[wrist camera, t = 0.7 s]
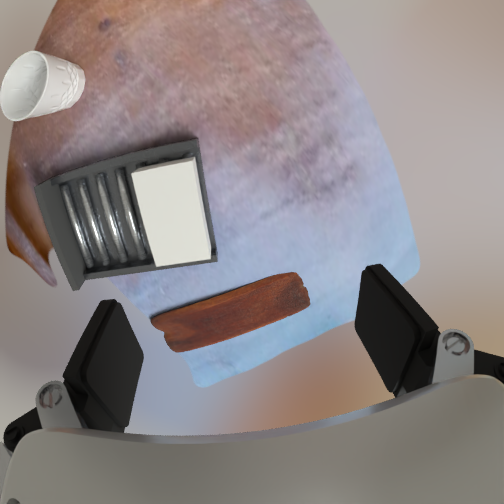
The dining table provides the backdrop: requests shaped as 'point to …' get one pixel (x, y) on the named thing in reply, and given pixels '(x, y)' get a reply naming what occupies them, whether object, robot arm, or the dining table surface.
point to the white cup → (40, 86)
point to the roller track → (109, 215)
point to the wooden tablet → (233, 312)
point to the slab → (173, 211)
